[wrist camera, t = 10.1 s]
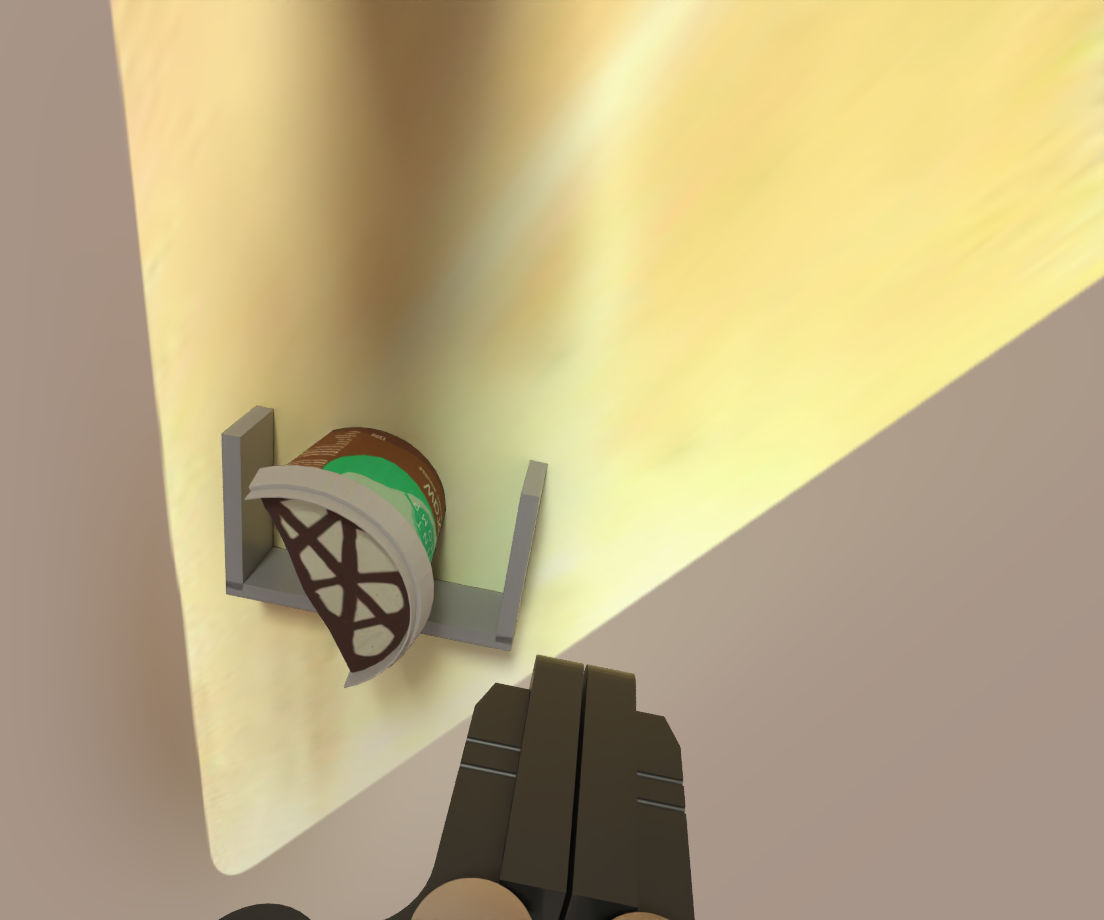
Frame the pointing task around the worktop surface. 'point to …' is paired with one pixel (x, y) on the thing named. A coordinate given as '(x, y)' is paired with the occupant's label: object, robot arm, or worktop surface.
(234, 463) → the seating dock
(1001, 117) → the worktop surface
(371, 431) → the food container
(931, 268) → the worktop surface
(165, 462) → the worktop surface
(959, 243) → the worktop surface
